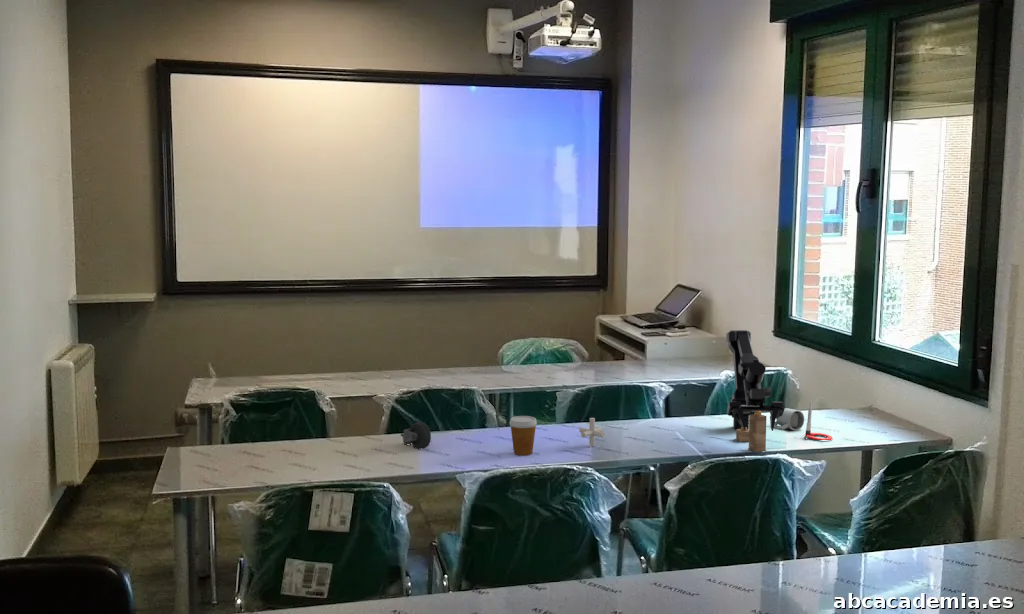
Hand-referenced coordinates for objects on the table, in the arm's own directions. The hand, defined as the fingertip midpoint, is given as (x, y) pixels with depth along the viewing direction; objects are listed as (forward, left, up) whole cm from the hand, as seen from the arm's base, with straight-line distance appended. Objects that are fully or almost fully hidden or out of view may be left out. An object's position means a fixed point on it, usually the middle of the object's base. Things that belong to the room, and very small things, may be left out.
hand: (758, 429), depth 301 cm
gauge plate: (-8, 0, -8) cm, 11 cm away
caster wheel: (-21, -117, -8) cm, 119 cm away
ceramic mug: (-31, +23, -8) cm, 40 cm away
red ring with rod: (-16, +29, -8) cm, 35 cm away
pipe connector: (-14, -55, -8) cm, 57 cm away
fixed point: (-14, 0, -7) cm, 16 cm away
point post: (-1, 0, -7) cm, 7 cm away
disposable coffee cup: (-8, -80, -8) cm, 81 cm away
